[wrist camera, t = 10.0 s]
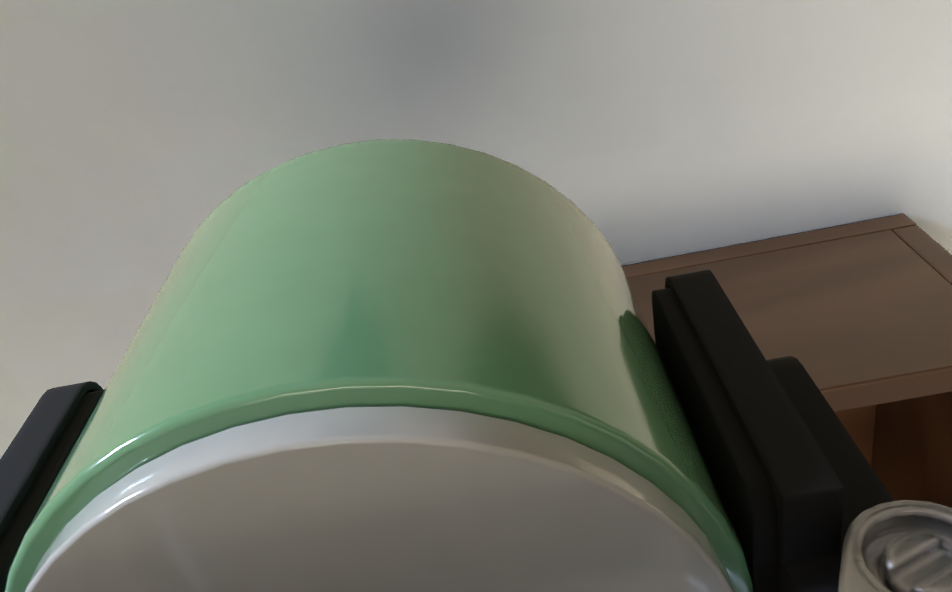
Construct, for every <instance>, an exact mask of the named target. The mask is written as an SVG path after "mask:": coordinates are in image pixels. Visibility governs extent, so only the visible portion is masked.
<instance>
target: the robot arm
mask: <svg viewBox="0 0 952 592" xmlns="http://www.w3.org/2000/svg"><path fill="white" fill-rule="evenodd" d="M652 310H653V322H654V334H655V345H656V347H657V350H658V352H659V354H660V357H661V359H662V361H663V364H664V366H665V368H666V371H667V373H668V375H669V378H670V380H671V382H672V385H673V387H674V389H675V392H676V394H677V396H678V399H679V401H680V403H681V406H682V408H683V410H684V413H685V415H686V417H687V420H688V422H689V424H690V427H691V429H692V431H693V434H694V436H695V439H696V441H697V443H698V446H699V448H700V450H701V453H702V455H703V457H704V460H705V462H706V464H707V467H708V469H709V471H710V474H711V476H712V478H713V481H714V483H715V485H716V488H717V490H718V492H719V495H720V497H721V499H722V502H723V504H724V506H725V509H726V511H727V513H728V516H729V518H730V520H731V523H732V525H733V527H734V530H735V532H736V534H737V537H738V539H739V541H740V544H741V546H742V548H743V552H744V555H745V558H746V561H747V564H748V567H749V570H750V573H751V576H752V579H753V586H754V592H952V508H951V507H947V506H944V505H940V504H936V503H932V502H927V501H912V500H900V501H894V500H893V498H892V497H891V495H890V494H889V492H888V491H887V489H886V488H885V486H884V485H883V483H882V482H881V481H880V479H879V478H878V476H877V475H876V473H875V472H874V470H873V469H872V467H871V466H870V464H869V463H868V461H867V460H866V458H865V457H864V455H863V454H862V452H861V451H860V449H859V448H858V446H857V445H856V443H855V442H854V441H853V439H852V438H851V436H850V435H849V433H848V432H847V430H846V429H845V427H844V426H843V424H842V423H841V421H840V420H839V418H838V417H837V415H836V414H835V412H834V411H833V409H832V408H831V406H830V405H829V403H828V402H827V401H826V399H825V398H824V396H823V395H822V393H821V392H820V390H819V389H818V387H817V386H816V384H815V383H814V381H813V380H812V378H811V377H810V375H809V374H808V372H807V371H806V369H805V368H804V366H803V365H802V364H801V363H800V362H799V360H798V359H797V358H795V357H793V356H787V357H781V358H775V359H769V360H766V359H765V357H764V356H763V354H762V352H761V351H760V349H759V348H758V346H757V344H756V343H755V341H754V339H753V338H752V336H751V335H750V333H749V331H748V330H747V328H746V326H745V325H744V323H743V322H742V320H741V318H740V317H739V315H738V313H737V312H736V310H735V309H734V307H733V305H732V304H731V302H730V300H729V299H728V297H727V296H726V294H725V292H724V291H723V289H722V287H721V286H720V284H719V283H718V281H717V279H716V278H715V276H714V274H713V273H712V272H711V271H710V270H702V271H696V272H691V273H685V274H680V275H674V276H669V277H666V279H665V288H664V289H658V290H653V291H652ZM104 391H105V390H103V389H102V387H101V386H99V385H98V384H97V383H95V382H91V381H90V382H84V383H79V384H73V385H68V386H62V387H57V388H52V389H49V390H47V391H46V392H45V393H44V394H43V395H42V397H41V398H40V400H39V402H38V403H37V405H36V406H35V408H34V409H33V411H32V412H31V414H30V415H29V417H28V418H27V420H26V421H25V423H24V424H23V426H22V427H21V429H20V430H19V432H18V434H17V435H16V437H15V438H14V440H13V441H12V443H11V444H10V446H9V447H8V449H7V450H6V452H5V453H4V455H3V456H2V458H1V459H0V592H4V590H5V586H6V581H7V577H8V572H9V568H10V566H11V564H12V562H13V559H14V557H15V555H16V553H17V551H18V548H19V546H20V544H21V542H22V540H23V537H24V535H25V533H26V532H27V530H28V528H29V526H30V524H31V523H32V521H33V519H34V517H35V515H36V514H37V512H38V510H39V508H40V506H41V505H42V503H43V501H44V499H45V497H46V496H47V494H48V492H49V490H50V488H51V487H52V485H53V483H54V481H55V479H56V478H57V476H58V474H59V472H60V470H61V469H62V467H63V465H64V463H65V461H66V459H67V458H68V456H69V454H70V452H71V450H72V449H73V447H74V445H75V443H76V441H77V440H78V438H79V436H80V434H81V432H82V431H83V429H84V427H85V425H86V423H87V422H88V420H89V418H90V416H91V414H92V413H93V411H94V409H95V407H96V405H97V404H98V402H99V400H100V398H101V396H102V395H103V393H104Z"/></svg>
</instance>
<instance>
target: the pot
mask: <svg viewBox="0 0 952 592" xmlns="http://www.w3.org/2000/svg"><path fill="white" fill-rule="evenodd" d="M4 592H754V586H753V579H752V576H751V573H750V570H749V567H748V564H747V561H746V558H745V555H744V552H743V548H742V546H741V544H740V541H739V539H738V537H737V534H736V532H735V530H734V527H733V525H732V523H731V520H730V518H729V516H728V513H727V511H726V509H725V506H724V504H723V502H722V499H721V497H720V495H719V492H718V490H717V488H716V485H715V483H714V481H713V478H712V476H711V474H710V471H709V469H708V467H707V464H706V462H705V460H704V457H703V455H702V453H701V450H700V448H699V446H698V443H697V441H696V439H695V436H694V434H693V431H692V429H691V427H690V424H689V422H688V420H687V417H686V415H685V413H684V410H683V408H682V406H681V403H680V401H679V399H678V396H677V394H676V392H675V389H674V387H673V385H672V382H671V380H670V378H669V375H668V373H667V371H666V368H665V366H664V364H663V361H662V359H661V357H660V354H659V352H658V350H657V347H656V345H655V343H654V340H653V338H652V336H651V333H650V331H649V329H648V326H647V324H646V322H645V319H644V317H643V315H642V312H641V310H640V308H639V305H638V303H637V301H636V298H635V296H634V294H633V291H632V289H631V287H630V284H629V282H628V279H627V277H626V275H625V272H624V270H623V269H622V267H621V265H620V263H619V261H618V259H617V257H616V255H615V253H614V252H613V250H612V248H611V246H610V245H609V243H608V242H607V241H606V239H605V238H604V237H603V235H602V234H601V233H600V231H599V230H598V229H597V227H596V226H595V225H594V223H593V222H592V221H591V220H590V219H589V218H588V217H587V216H586V215H585V214H584V213H583V212H582V211H581V210H580V209H579V208H578V207H577V206H576V205H575V204H574V203H573V202H572V201H571V200H569V199H568V198H567V197H565V196H564V195H563V194H561V193H560V192H559V191H557V190H556V189H555V188H553V187H552V186H550V185H549V184H548V183H546V182H545V181H543V180H541V179H540V178H538V177H536V176H534V175H532V174H531V173H529V172H527V171H525V170H523V169H522V168H520V167H518V166H516V165H514V164H511V163H509V162H506V161H503V160H501V159H498V158H496V157H493V156H491V155H488V154H486V153H483V152H479V151H475V150H471V149H467V148H463V147H459V146H455V145H451V144H444V143H436V142H428V141H420V140H372V141H364V142H357V143H349V144H342V145H338V146H334V147H330V148H326V149H322V150H319V151H315V152H311V153H307V154H305V155H302V156H300V157H297V158H295V159H292V160H290V161H288V162H285V163H283V164H280V165H278V166H275V167H274V168H272V169H270V170H268V171H267V172H265V173H263V174H261V175H260V176H258V177H256V178H254V179H253V180H251V181H249V182H248V183H246V184H245V185H243V186H242V187H241V188H240V189H238V190H237V191H236V192H234V193H233V194H232V195H231V196H229V197H228V198H227V199H226V200H224V201H223V202H222V203H221V204H220V205H219V206H218V207H217V208H216V209H215V210H214V211H213V212H212V213H211V214H210V215H209V216H208V217H207V218H206V219H205V220H204V222H203V223H202V224H201V225H200V226H199V227H198V229H197V230H196V232H195V233H194V235H193V236H192V237H191V239H190V240H189V242H188V243H187V245H186V246H185V248H184V249H183V251H182V252H181V254H180V256H179V258H178V260H177V261H176V263H175V265H174V267H173V269H172V270H171V272H170V274H169V276H168V278H167V279H166V281H165V283H164V285H163V287H162V288H161V290H160V292H159V294H158V296H157V297H156V299H155V301H154V303H153V305H152V306H151V308H150V310H149V312H148V314H147V315H146V317H145V319H144V321H143V323H142V324H141V326H140V328H139V330H138V332H137V333H136V335H135V337H134V339H133V341H132V342H131V344H130V346H129V348H128V350H127V351H126V353H125V355H124V357H123V359H122V360H121V362H120V364H119V366H118V368H117V369H116V371H115V373H114V375H113V377H112V378H111V380H110V382H109V384H108V386H107V387H106V389H105V391H104V393H103V395H102V396H101V398H100V400H99V402H98V404H97V405H96V407H95V409H94V411H93V413H92V414H91V416H90V418H89V420H88V422H87V423H86V425H85V427H84V429H83V431H82V432H81V434H80V436H79V438H78V440H77V441H76V443H75V445H74V447H73V449H72V450H71V452H70V454H69V456H68V458H67V459H66V461H65V463H64V465H63V467H62V469H61V470H60V472H59V474H58V476H57V478H56V479H55V481H54V483H53V485H52V487H51V488H50V490H49V492H48V494H47V496H46V497H45V499H44V501H43V503H42V505H41V506H40V508H39V510H38V512H37V514H36V515H35V517H34V519H33V521H32V523H31V524H30V526H29V528H28V530H27V532H26V533H25V535H24V537H23V540H22V542H21V544H20V546H19V548H18V551H17V553H16V555H15V557H14V559H13V562H12V564H11V566H10V568H9V572H8V577H7V581H6V586H5V590H4Z"/></svg>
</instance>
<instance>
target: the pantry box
mask: <svg viewBox="0 0 952 592" xmlns="http://www.w3.org/2000/svg"><path fill="white" fill-rule="evenodd" d="M621 267H622V269H623V270H624V272H625V275H626V277H627V279H628V282H629V284H630V287H631V289H632V291H633V294H634V296H635V298H636V301H637V303H638V305H639V308H640V310H641V312H642V315H643V317H644V319H645V322H646V324H647V326H648V329H649V331H650V333H651V336H652V338H653V340H654V343H655V334H654V322H653V310H652V291H653V290H658V289H664V288H665V279H666V277H669V276H674V275H680V274H685V273H691V272H696V271H702V270H710V271H711V272H712V273H713V274H714V276H715V278H716V279H717V281H718V283H719V284H720V286H721V287H722V289H723V291H724V292H725V294H726V296H727V297H728V299H729V300H730V302H731V304H732V305H733V307H734V309H735V310H736V312H737V313H738V315H739V317H740V318H741V320H742V322H743V323H744V325H745V326H746V328H747V330H748V331H749V333H750V335H751V336H752V338H753V339H754V341H755V343H756V344H757V346H758V348H759V349H760V351H761V352H762V354H763V356H764V357H765V359H766V360H769V359H775V358H781V357H787V356H793V357H795V358H797V359H798V360H799V362H800V363H801V364H802V365H803V366H804V368H805V369H806V371H807V372H808V374H809V375H810V377H811V378H812V380H813V381H814V383H815V384H816V386H817V387H818V389H819V390H820V392H821V393H822V395H823V396H824V398H825V399H826V401H827V402H828V403H829V405H830V406H831V408H832V409H833V411H834V412H835V414H836V415H837V417H838V418H839V420H840V421H841V423H842V424H843V426H844V427H845V429H846V430H847V432H848V433H849V435H850V436H851V438H852V439H853V441H854V442H855V443H856V445H857V446H858V448H859V449H860V451H861V452H862V454H863V455H864V457H865V458H866V460H867V461H868V463H869V464H870V466H871V467H872V469H873V470H874V472H875V473H876V475H877V476H878V478H879V479H880V481H881V482H882V483H883V485H884V486H885V488H886V489H887V491H888V492H889V494H890V495H891V497H892V498H893V500H894V501H900V500H912V501H927V502H932V503H936V504H940V505H944V506H947V507H951V508H952V255H951V254H950V253H949V252H948V251H947V250H945V249H944V248H943V247H942V246H941V245H939V244H938V243H937V242H936V241H935V240H934V239H932V238H931V237H930V236H929V235H928V234H926V233H925V232H924V231H923V230H922V229H921V228H919V227H918V226H916V223H914V222H913V221H912V220H911V219H910V218H909V217H907V216H906V215H905V214H900V215H894V216H889V217H883V218H878V219H873V220H867V221H862V222H857V223H851V224H846V225H841V226H835V227H830V228H825V229H819V230H814V231H808V232H803V233H798V234H792V235H787V236H782V237H776V238H771V239H766V240H760V241H755V242H750V243H744V244H739V245H734V246H728V247H723V248H717V249H712V250H707V251H701V252H696V253H691V254H685V255H680V256H675V257H669V258H664V259H659V260H653V261H648V262H642V263H637V264H632V265H626V266H621Z"/></svg>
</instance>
